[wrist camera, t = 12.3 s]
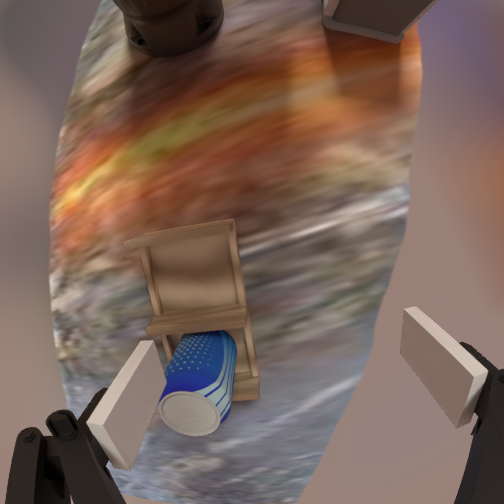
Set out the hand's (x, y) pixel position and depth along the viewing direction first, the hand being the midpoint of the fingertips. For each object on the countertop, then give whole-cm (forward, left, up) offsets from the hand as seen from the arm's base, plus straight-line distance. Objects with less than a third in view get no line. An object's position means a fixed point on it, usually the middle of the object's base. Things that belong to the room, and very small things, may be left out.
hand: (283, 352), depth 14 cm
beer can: (+13, -10, -26) cm, 31 cm away
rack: (+7, -10, -27) cm, 30 cm away
